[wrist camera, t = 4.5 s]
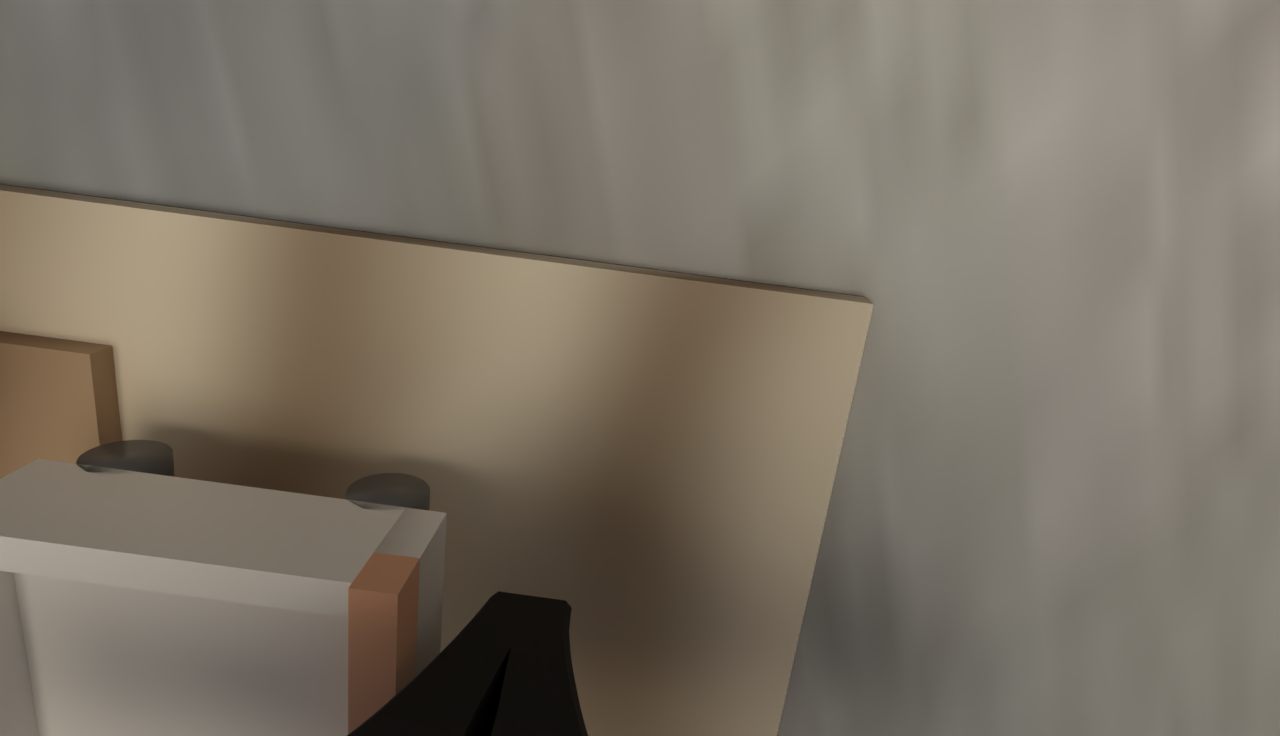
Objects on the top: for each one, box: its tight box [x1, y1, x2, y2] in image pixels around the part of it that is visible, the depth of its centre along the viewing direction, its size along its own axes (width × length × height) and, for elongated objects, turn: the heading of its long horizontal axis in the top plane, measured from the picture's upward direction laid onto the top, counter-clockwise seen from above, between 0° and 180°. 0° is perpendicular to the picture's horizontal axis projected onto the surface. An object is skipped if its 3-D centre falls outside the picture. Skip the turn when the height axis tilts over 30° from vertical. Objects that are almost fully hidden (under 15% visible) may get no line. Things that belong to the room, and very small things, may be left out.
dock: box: [0, 184, 874, 736], centre depth 12 cm, size 19×12×4 cm, turn 83°
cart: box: [0, 440, 447, 736], centre depth 11 cm, size 6×5×3 cm
